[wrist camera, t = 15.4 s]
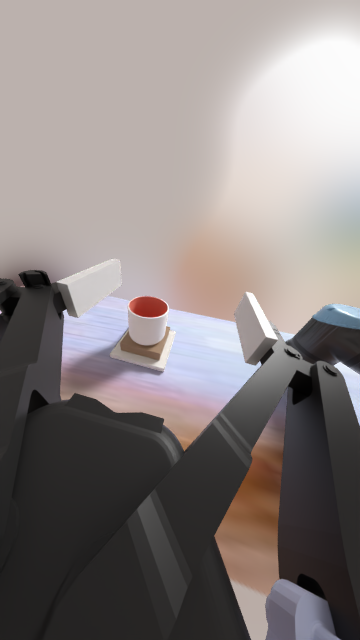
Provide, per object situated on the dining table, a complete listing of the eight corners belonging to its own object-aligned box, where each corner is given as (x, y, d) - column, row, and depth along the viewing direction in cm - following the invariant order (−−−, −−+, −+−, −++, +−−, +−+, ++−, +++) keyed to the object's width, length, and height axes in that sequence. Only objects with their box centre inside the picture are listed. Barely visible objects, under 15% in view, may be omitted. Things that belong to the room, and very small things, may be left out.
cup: (150, 354, 36) (153, 324, 30) (121, 336, 38) (118, 306, 32) (170, 332, 43) (175, 305, 37) (144, 319, 46) (145, 291, 40)
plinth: (175, 334, 49) (177, 325, 47) (163, 372, 37) (165, 362, 35) (134, 323, 50) (134, 313, 47) (110, 357, 38) (108, 346, 35)
